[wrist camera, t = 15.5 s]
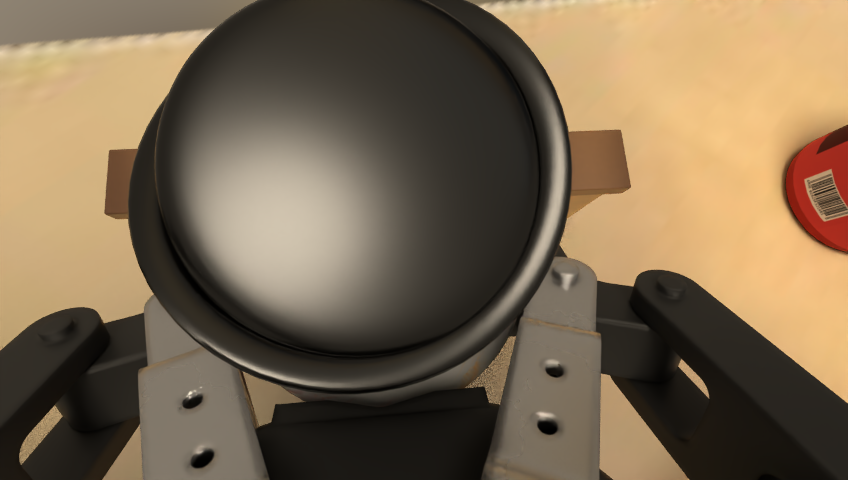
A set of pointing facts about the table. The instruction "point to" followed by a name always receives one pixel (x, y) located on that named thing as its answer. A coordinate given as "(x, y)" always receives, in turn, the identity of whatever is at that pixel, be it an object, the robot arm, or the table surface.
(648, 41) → the table surface
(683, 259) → the table surface
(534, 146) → the lotion bottle
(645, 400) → the robot arm
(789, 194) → the canned food
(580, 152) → the wall panel
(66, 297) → the table surface
